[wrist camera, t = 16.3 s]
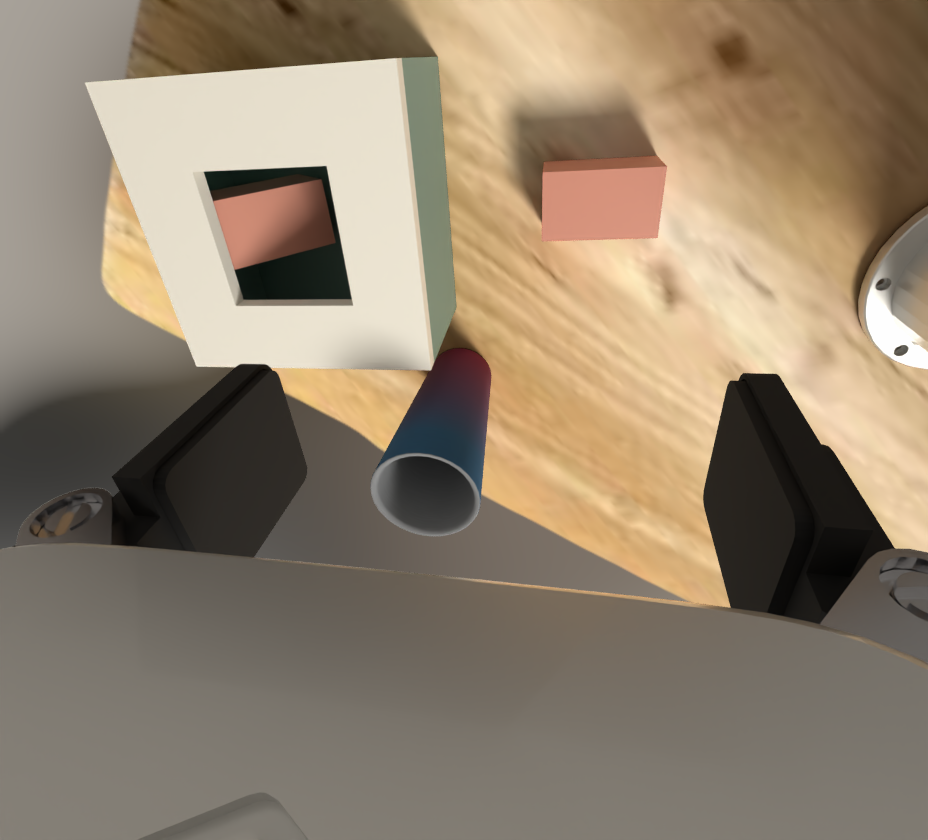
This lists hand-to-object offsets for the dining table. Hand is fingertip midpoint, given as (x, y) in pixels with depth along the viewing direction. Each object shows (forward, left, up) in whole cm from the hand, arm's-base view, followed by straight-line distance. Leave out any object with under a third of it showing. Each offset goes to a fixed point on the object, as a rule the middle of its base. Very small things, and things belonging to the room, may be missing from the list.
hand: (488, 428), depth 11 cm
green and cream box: (+14, +1, -29) cm, 32 cm away
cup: (+6, +15, -29) cm, 34 cm away
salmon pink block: (+15, +1, -27) cm, 31 cm away
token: (-4, +1, -29) cm, 29 cm away
